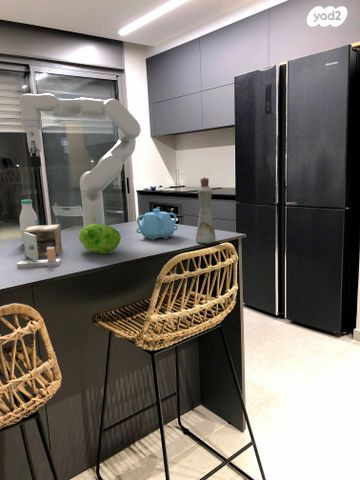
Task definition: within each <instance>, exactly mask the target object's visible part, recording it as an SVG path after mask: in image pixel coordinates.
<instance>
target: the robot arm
mask: <svg viewBox="0 0 360 480" xmlns="http://www.w3.org/2000/svg"><path fill="white" fill-rule="evenodd" d="M19 102H20V103H19V104H20V111H21V112H20V113H21V121H22V122H21V123H22V129H23V130H26V138H27V147H28V151H29V153H30V165H31V168H32V167H33V168H35V167H36V168H37V167H42V161H41V156H40V154H41V153H43V146H42V136H41V132H40V130H42V129H43V128H42V127H43V126H42V124H43V123H42V115H41V112H42V113H43V114H45V115H46V116H52V117H59V118H60V117H61V118H63V117H64V118H73V119H74V118H76V119H86V120H87V119H88V120H98V121H106V122H108V121H109V122H110V121H111V122H113V124H114V125H115V126H116V127H117V135H118V139H117V142H116V144H115V145H113V147H112V148H111V149H110V150H109V151H107V153H105V154H104V155H103V156H102V157H101V158H100V159H99V160H98V163H97V164H96V165H95V166H94V167H93V168H92V169H91V170H90V171H85V172H84V173H83V174H82V175H81V176H80V179H79V187H80V188H79V189H80V194H81V206H82V216H83V217H82V218H83V228H84V227H86V226H88V225H90V224H104V225H106V223H105V222H106V221H105V210H104V209H105V208H104V197H103V191H104V190H105V189H106V187H108V186H109V185H110V184H111V183H112V182H113V181H114V180H115V179H116V178H117V177H118V176H119V175H120V174H121V172H122V171H123V167H124V166H123V165H124V164H125V163H126V162H127V161H128V160H129V159H130V157H131V156H132V155H133V153H135V149H136V143H137V142H136V139H137V138H138V137H139V136H140V135H141V131H142V128H141V125H140V123H139V121H138V120H137V118H135V116H134V115H133V114H131V112H130V111H129V110H128V109H127V108H126V107H125V105H124V104H123V103H121V101H119V100H118V99H116V98H109V99H107V100H105V99H103V100H102V99H94V98H88V97H79V98H75V99H74V98H73V99H60V98H57V96H55V95H54V94H51V93H42V94H41V93H40V94H32V93H25V94H22V95H20V96H19Z"/></svg>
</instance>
